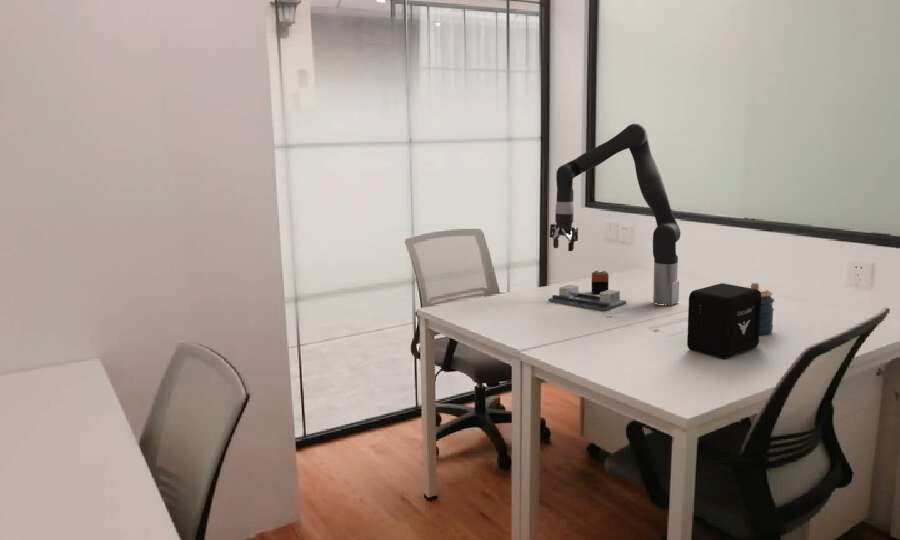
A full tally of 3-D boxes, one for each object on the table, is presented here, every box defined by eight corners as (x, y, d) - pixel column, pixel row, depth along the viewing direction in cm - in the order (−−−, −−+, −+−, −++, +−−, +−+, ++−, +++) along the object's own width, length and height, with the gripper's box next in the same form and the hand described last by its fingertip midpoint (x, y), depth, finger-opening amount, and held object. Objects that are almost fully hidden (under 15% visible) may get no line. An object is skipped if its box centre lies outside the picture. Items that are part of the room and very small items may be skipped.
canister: (769, 338, 248) (772, 288, 244) (729, 333, 254) (731, 284, 251) (774, 328, 258) (777, 280, 255) (736, 324, 265) (738, 277, 262)
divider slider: (578, 295, 310) (578, 286, 309) (564, 299, 303) (564, 290, 302) (568, 293, 313) (568, 284, 313) (555, 298, 306) (555, 289, 306)
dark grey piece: (626, 303, 300) (626, 289, 298) (605, 311, 288) (605, 296, 287) (569, 294, 319) (569, 280, 317) (548, 301, 307) (548, 287, 306)
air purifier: (725, 361, 226) (728, 299, 222) (686, 350, 237) (688, 291, 233) (762, 348, 237) (765, 289, 233) (722, 338, 249) (725, 282, 245)
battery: (591, 292, 322) (591, 270, 320) (606, 291, 322) (607, 269, 320) (592, 294, 318) (593, 272, 316) (608, 294, 317) (608, 271, 315)
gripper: (583, 213, 303) (581, 251, 307) (558, 209, 314) (557, 246, 318) (570, 214, 299) (569, 253, 302) (546, 210, 310) (545, 248, 313)
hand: (563, 249), depth 310 cm, fingers open, 8 cm apart
